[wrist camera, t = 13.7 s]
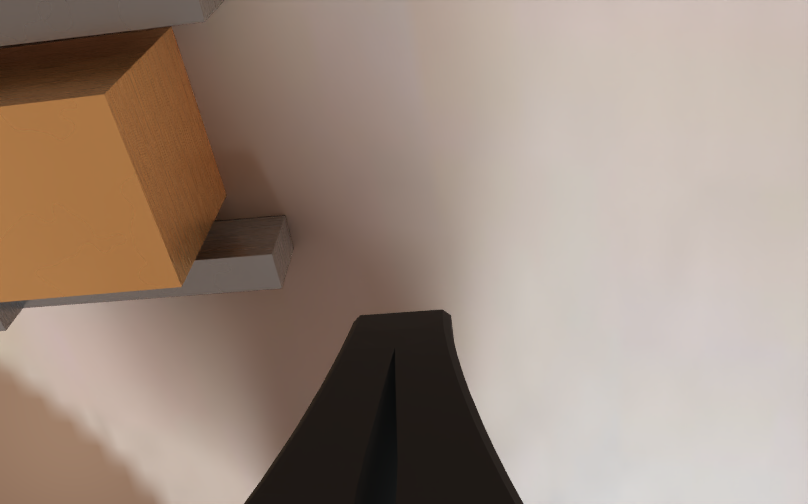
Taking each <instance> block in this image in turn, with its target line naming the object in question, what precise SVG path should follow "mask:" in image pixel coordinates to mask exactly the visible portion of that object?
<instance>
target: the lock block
mask: <svg viewBox="0 0 808 504" xmlns="http://www.w3.org/2000/svg"><path fill="white" fill-rule="evenodd" d="M225 197H226V192H225V189H224V186H223V183H222V180H221V177H220V174H219V171H218V168H217V164H216V161H215V158H214V155H213V152H212V149H211V146H210V143H209V140H208V137H207V134H206V131H205V128H204V125H203V122H202V118H201V115H200V112H199V109H198V106H197V103H196V100H195V97H194V94H193V91H192V88H191V85H190V82H189V79H188V76H187V73H186V69H185V66H184V63H183V60H182V57H181V54H180V51H179V48H178V45H177V42H176V39H175V36H174V33H173V30H172V27H164V28H156V29H149V30H141V31H133V32H125V33H118V34H110V35H102V36H95V37H87V38H79V39H72V40H64V41H56V42H48V43H41V44H33V45H25V46H18V47H10V48H2V49H0V302H10V301H22V300H34V299H46V298H57V297H69V296H81V295H93V294H105V293H117V292H128V291H140V290H152V289H164V288H176V287H182V285H183V283H184V281H185V279H186V277H187V275H188V273H189V271H190V269H191V267H192V265H193V263H194V261H195V259H196V257H197V255H198V253H199V251H200V249H201V247H202V244H203V242H204V240H205V238H206V236H207V234H208V232H209V230H210V228H211V226H212V224H213V222H214V220H215V218H216V216H217V214H218V212H219V210H220V208H221V206H222V204H223V201H224V199H225Z"/></svg>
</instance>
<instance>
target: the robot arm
mask: <svg viewBox="0 0 808 504" xmlns="http://www.w3.org/2000/svg"><path fill="white" fill-rule="evenodd" d="M244 504H523V502H522V500H521V498H520V497H519V495H518V493H517V491H516V489H515V488H514V486H513V484H512V482H511V480H510V478H509V476H508V474H507V472H506V471H505V469H504V467H503V465H502V463H501V461H500V459H499V457H498V455H497V453H496V451H495V449H494V447H493V445H492V442H491V440H490V438H489V436H488V434H487V432H486V430H485V427H484V425H483V423H482V420H481V418H480V416H479V413H478V411H477V408H476V406H475V404H474V401H473V399H472V396H471V394H470V392H469V389H468V386H467V383H466V381H465V378H464V375H463V372H462V369H461V366H460V362H459V359H458V356H457V352H456V348H455V344H454V338H453V329H452V321H451V315H449V314H448V313H447V312H445V311H444V310H430V311H416V312H402V313H388V314H374V315H360V316H359V317H358V318H357V319H356V320H355V321H354V323H353V325H352V327H351V330H350V332H349V334H348V336H347V338H346V340H345V342H344V344H343V346H342V348H341V350H340V352H339V354H338V356H337V358H336V360H335V362H334V364H333V365H332V367H331V369H330V371H329V373H328V375H327V376H326V378H325V380H324V382H323V384H322V386H321V387H320V389H319V391H318V392H317V394H316V396H315V397H314V399H313V401H312V402H311V404H310V406H309V407H308V409H307V411H306V412H305V414H304V416H303V418H302V419H301V421H300V423H299V424H298V426H297V427H296V429H295V431H294V432H293V434H292V435H291V437H290V438H289V440H288V441H287V443H286V444H285V446H284V447H283V449H282V450H281V452H280V453H279V455H278V456H277V458H276V459H275V461H274V462H273V464H272V465H271V466H270V468H269V469H268V471H267V472H266V474H265V475H264V477H263V478H262V480H261V481H260V483H259V484H258V485H257V487H256V488H255V489H254V491H253V492H252V494H251V495H250V496H249V498H248V499H247V500H246V502H245V503H244Z"/></svg>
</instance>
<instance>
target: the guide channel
mask: <svg viewBox="0 0 808 504" xmlns="http://www.w3.org/2000/svg"><path fill="white" fill-rule="evenodd" d="M223 1H224V0H0V46H6V45H15V44H23V43H32V42H40V41H48V40H57V39H65V38H74V37H82V36H91V35H99V34H107V33H116V32H124V31H133V30H141V29H149V28H158V27H166V26H175V25H183V24H191V23H200V22H205V21H206V20H207V19H208V18H209V17H210V16H211V14H212V13H213V12H214V11H215V10H216V9H217V8H218V7H219V5H220V4H221V3H222V2H223ZM293 249H294V248H293V244H292V240H291V236H290V233H289V229H288V225H287V221H286V217H285V215H284V216H273V217H261V218H250V219H238V220H227V221H215V222H213V224H212V226H211V228H210V230H209V232H208V234H207V236H206V238H205V240H204V242H203V244H202V247H201V249H200V251H199V253H198V255H197V257H196V259H195V261H194V263H193V265H192V267H191V269H190V271H189V273H188V275H187V277H186V279H185V281H184V283H183V285H182V287H176V288H164V289H152V290H140V291H128V292H117V293H105V294H93V295H81V296H69V297H57V298H46V299H34V300H22V301H10V302H0V331H6V330H7V329H8V327H9V326H10V325H11V323H12V322H13V321H14V319H15V318H16V317H17V315H18V314H19V313H20V311H21V310H22V309H23V308H30V307H43V306H56V305H69V304H83V303H96V302H109V301H122V300H136V299H149V298H162V297H175V296H188V295H202V294H215V293H228V292H241V291H255V290H268V289H281V288H282V286H283V282H284V279H285V276H286V272H287V269H288V266H289V262H290V259H291V255H292V252H293Z"/></svg>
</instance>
